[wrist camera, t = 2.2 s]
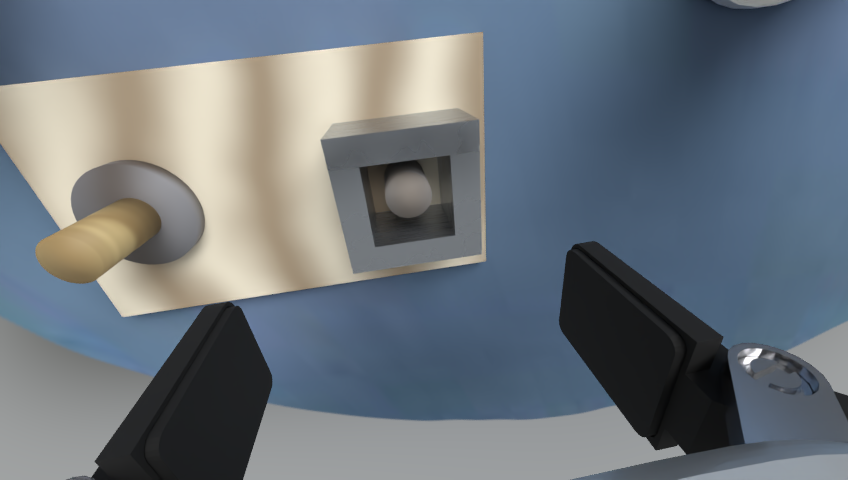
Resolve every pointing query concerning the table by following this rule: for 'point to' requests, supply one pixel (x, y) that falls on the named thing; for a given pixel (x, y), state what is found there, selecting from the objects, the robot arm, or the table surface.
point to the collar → (395, 142)
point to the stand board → (226, 167)
